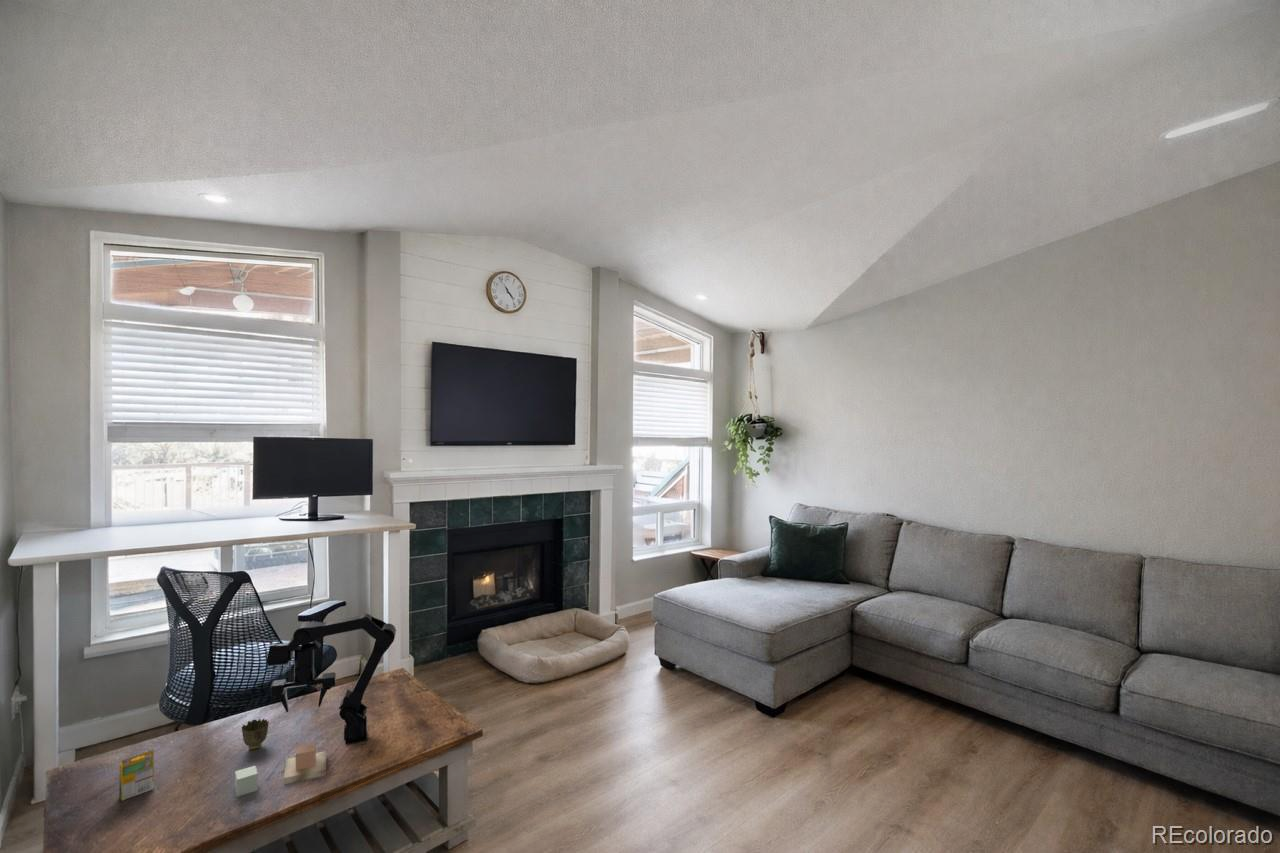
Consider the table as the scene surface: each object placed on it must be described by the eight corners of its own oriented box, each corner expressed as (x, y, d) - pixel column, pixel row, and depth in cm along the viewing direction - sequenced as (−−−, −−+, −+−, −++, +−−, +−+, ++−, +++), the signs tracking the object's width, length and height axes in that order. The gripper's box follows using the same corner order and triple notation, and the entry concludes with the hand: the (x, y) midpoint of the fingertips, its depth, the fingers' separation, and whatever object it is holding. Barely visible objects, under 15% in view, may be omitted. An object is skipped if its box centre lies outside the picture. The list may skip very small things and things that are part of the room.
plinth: (326, 758, 192) (326, 750, 192) (325, 777, 182) (325, 769, 182) (286, 766, 187) (286, 758, 187) (283, 786, 177) (283, 778, 177)
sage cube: (255, 782, 178) (255, 765, 178) (257, 790, 174) (257, 773, 174) (234, 788, 175) (235, 771, 175) (236, 797, 171) (237, 779, 171)
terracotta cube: (315, 758, 188) (315, 742, 188) (314, 766, 183) (314, 750, 183) (297, 761, 186) (297, 745, 186) (295, 770, 181) (295, 754, 181)
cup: (255, 756, 192) (255, 731, 192) (235, 752, 193) (236, 728, 193) (273, 743, 199) (274, 719, 199) (254, 740, 200) (255, 717, 200)
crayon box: (151, 785, 176) (151, 745, 175) (154, 789, 174) (154, 749, 174) (118, 797, 170) (119, 756, 170) (121, 801, 168) (121, 760, 168)
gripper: (336, 649, 209) (335, 694, 209) (274, 657, 201) (273, 703, 202) (335, 661, 199) (334, 708, 199) (270, 670, 191) (269, 719, 191)
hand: (303, 709), depth 198 cm, fingers open, 9 cm apart
